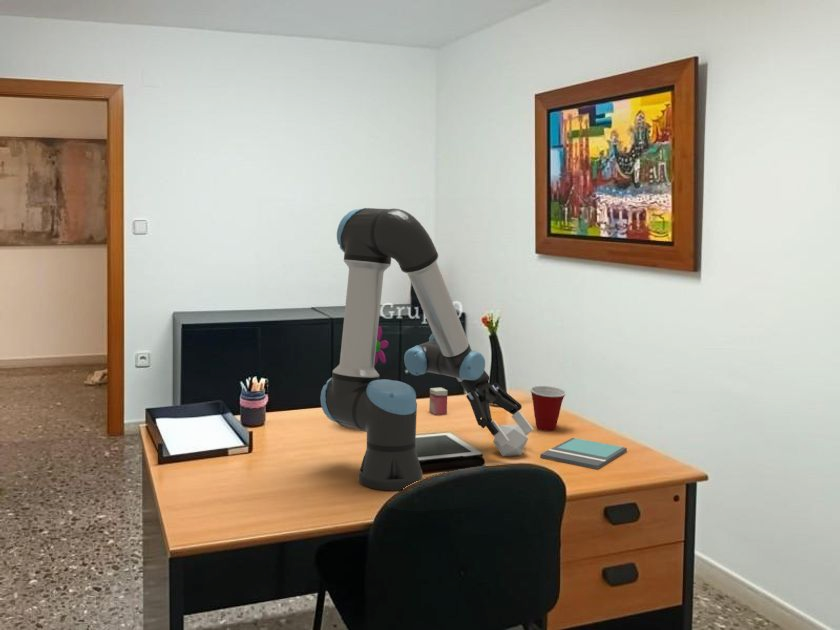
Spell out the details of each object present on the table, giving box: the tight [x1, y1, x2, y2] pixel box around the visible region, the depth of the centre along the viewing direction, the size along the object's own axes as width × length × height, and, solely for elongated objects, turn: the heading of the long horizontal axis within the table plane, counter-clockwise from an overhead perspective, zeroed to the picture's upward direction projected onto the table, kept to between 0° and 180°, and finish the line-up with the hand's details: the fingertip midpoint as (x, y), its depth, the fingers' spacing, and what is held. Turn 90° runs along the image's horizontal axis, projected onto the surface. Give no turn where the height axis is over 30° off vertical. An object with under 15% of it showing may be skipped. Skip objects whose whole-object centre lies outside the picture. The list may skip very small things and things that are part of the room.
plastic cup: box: [529, 385, 567, 432], centre depth 242 cm, size 11×11×12 cm
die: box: [492, 423, 529, 457], centre depth 216 cm, size 8×9×10 cm
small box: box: [428, 387, 448, 416], centre depth 259 cm, size 5×4×8 cm
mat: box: [539, 437, 628, 470], centre depth 217 cm, size 20×16×1 cm
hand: (518, 437), depth 215 cm, fingers open, 13 cm apart
